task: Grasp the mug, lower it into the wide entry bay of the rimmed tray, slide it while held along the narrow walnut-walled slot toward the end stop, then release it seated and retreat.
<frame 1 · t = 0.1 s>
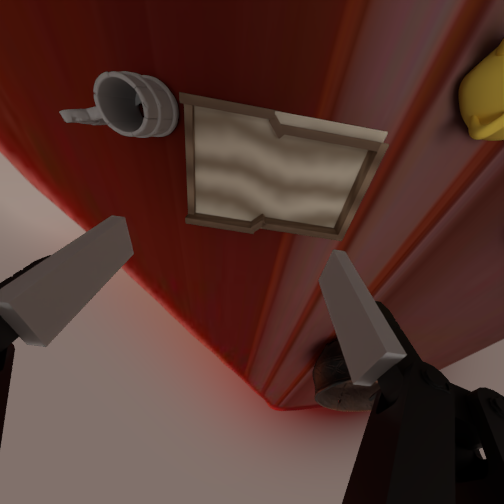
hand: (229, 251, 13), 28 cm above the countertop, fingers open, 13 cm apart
mug: (146, 111, 32), on the countertop
rimmed tray: (275, 178, 37), on the countertop
bowl: (342, 348, 69), on the countertop
teapot: (492, 83, 28), on the countertop
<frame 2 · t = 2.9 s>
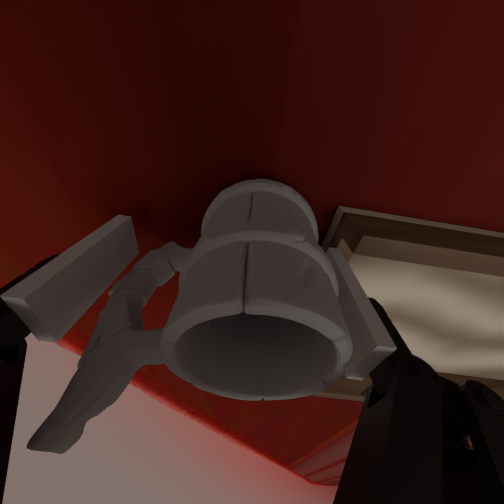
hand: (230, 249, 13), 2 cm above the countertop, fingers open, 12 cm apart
mug: (232, 229, 15), on the countertop
rimmed tray: (449, 324, 20), on the countertop
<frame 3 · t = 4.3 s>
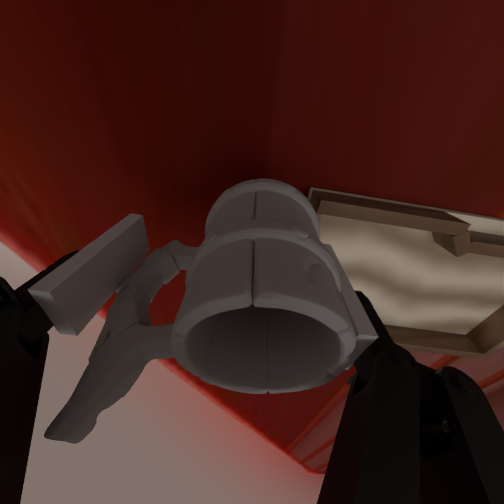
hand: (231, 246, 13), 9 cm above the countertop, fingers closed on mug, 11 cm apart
mug: (235, 228, 15), point 7 cm above the countertop, touching gripper
rimmed tray: (402, 282, 26), on the countertop
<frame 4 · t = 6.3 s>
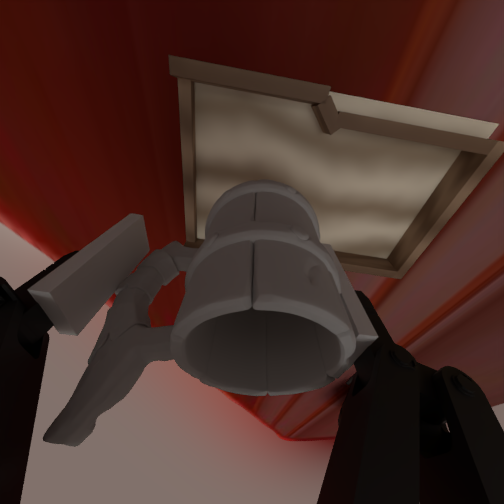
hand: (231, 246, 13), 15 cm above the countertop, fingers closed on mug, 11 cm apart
mug: (235, 229, 15), point 12 cm above the countertop, touching gripper
rimmed tray: (310, 193, 26), on the countertop
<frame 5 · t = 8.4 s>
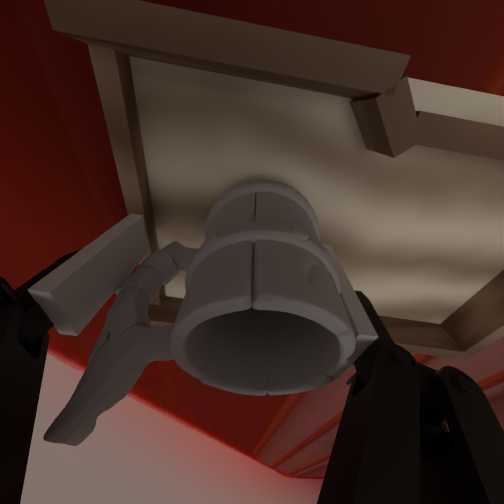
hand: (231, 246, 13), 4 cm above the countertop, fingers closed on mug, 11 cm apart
mug: (235, 229, 15), point 1 cm above the countertop, touching gripper
rimmed tray: (335, 239, 17), on the countertop
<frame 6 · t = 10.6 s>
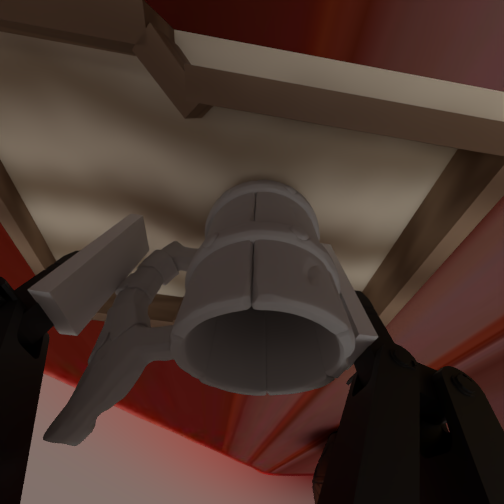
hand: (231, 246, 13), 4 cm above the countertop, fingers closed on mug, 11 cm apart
mug: (235, 229, 15), point 1 cm above the countertop, touching gripper
rimmed tray: (218, 219, 16), on the countertop
bowl: (354, 435, 48), on the countertop
when the fingers open (4 cm above the countertop, at t = 12.5 s): mug stays where it is, resting on rimmed tray.
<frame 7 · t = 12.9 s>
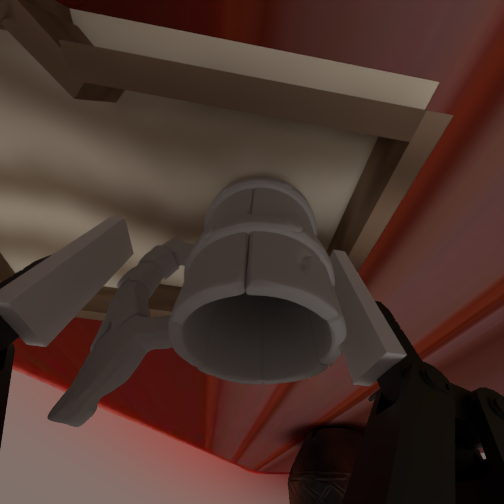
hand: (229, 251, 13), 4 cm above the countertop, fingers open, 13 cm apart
mug: (234, 225, 15), point 1 cm above the countertop, touching rimmed tray
rimmed tray: (158, 210, 16), on the countertop
bowl: (333, 432, 48), on the countertop
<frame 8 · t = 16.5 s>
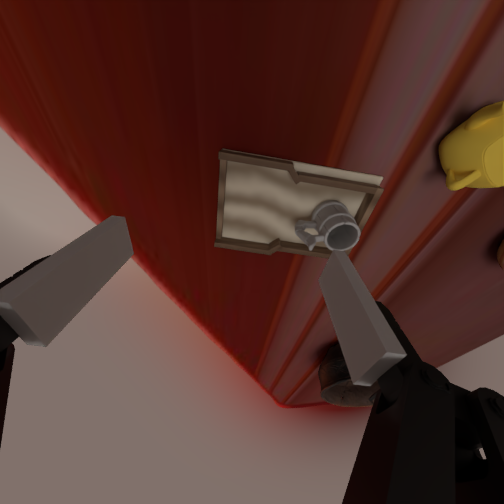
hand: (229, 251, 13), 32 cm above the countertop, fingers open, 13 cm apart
mug: (318, 216, 44), point 1 cm above the countertop, touching rimmed tray
rimmed tray: (289, 210, 44), on the countertop
bowl: (344, 350, 76), on the countertop
teapot: (465, 142, 36), on the countertop
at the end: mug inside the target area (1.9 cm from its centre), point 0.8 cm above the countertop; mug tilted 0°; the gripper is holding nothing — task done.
